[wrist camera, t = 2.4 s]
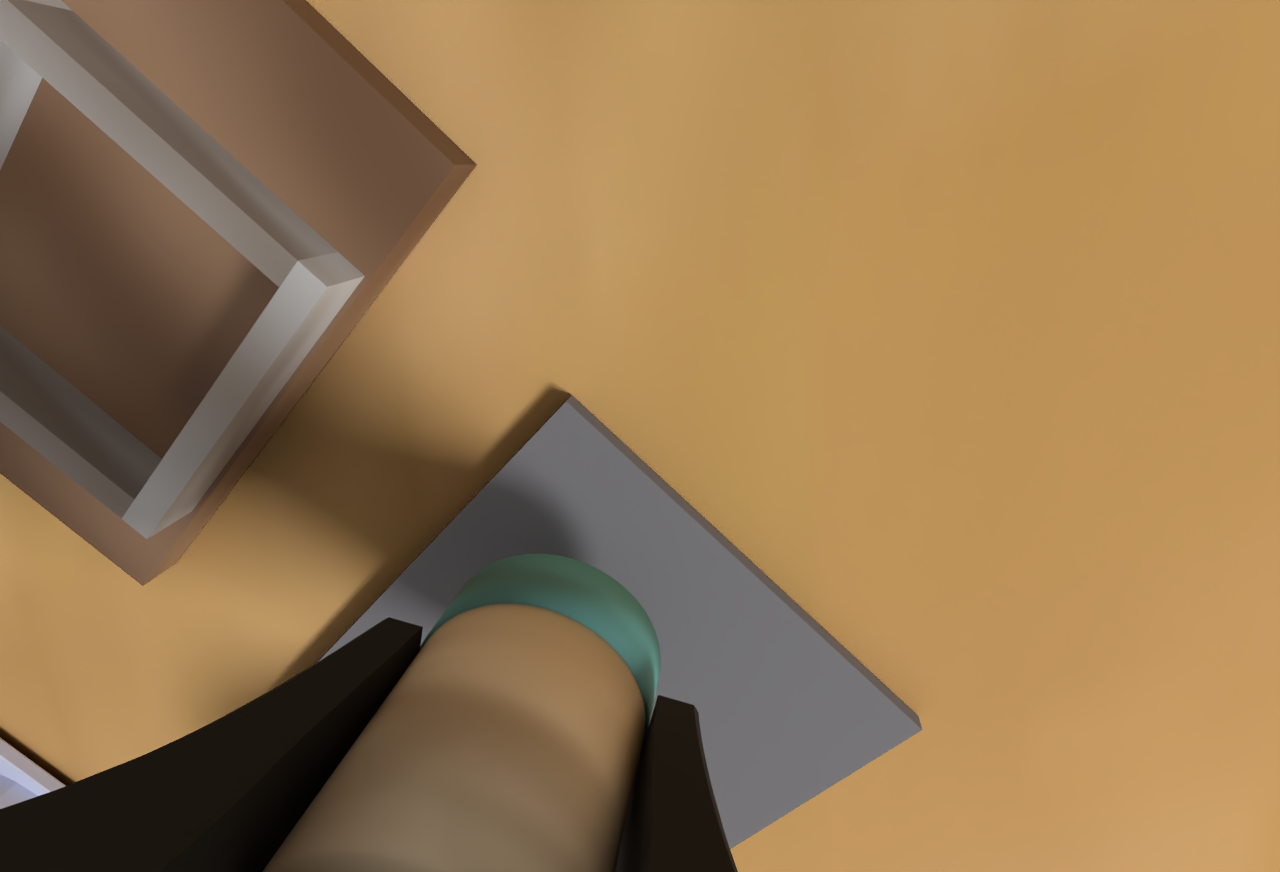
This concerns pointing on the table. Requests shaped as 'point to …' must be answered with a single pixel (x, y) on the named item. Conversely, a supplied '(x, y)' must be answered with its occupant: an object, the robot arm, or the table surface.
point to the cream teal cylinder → (498, 735)
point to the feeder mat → (673, 616)
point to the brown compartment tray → (186, 245)
